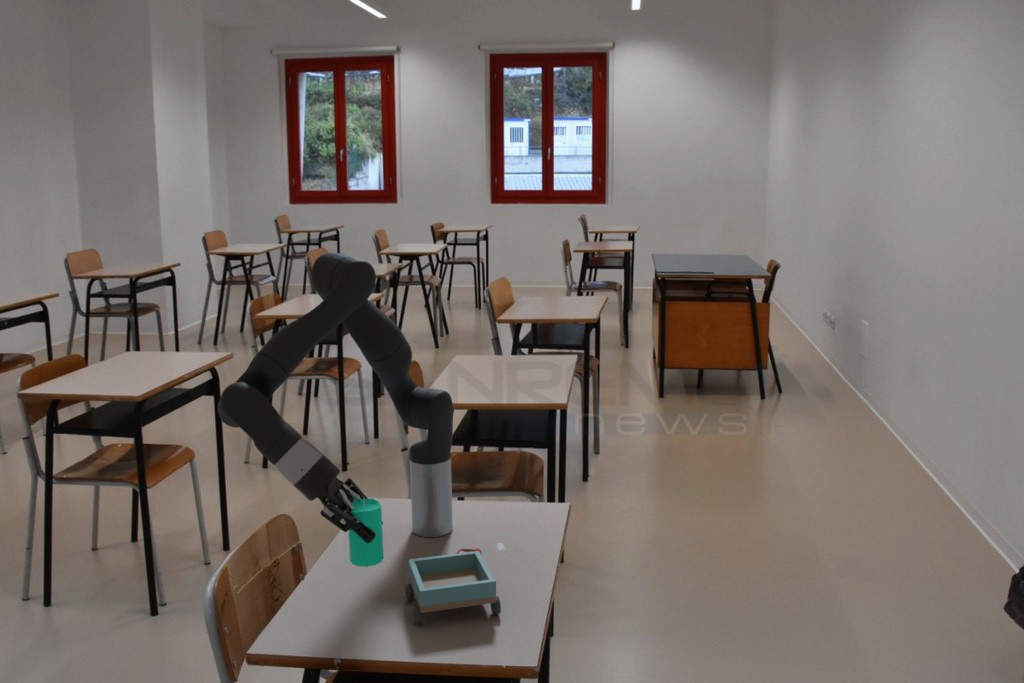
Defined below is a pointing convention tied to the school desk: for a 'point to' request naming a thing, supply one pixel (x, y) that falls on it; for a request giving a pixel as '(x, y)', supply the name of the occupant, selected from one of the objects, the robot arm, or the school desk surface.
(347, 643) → the school desk surface
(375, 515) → the candle
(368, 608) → the school desk surface
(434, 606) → the cart
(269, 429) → the robot arm
